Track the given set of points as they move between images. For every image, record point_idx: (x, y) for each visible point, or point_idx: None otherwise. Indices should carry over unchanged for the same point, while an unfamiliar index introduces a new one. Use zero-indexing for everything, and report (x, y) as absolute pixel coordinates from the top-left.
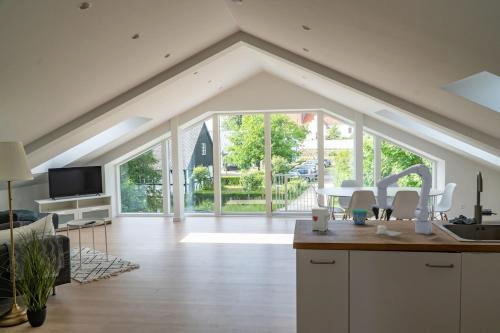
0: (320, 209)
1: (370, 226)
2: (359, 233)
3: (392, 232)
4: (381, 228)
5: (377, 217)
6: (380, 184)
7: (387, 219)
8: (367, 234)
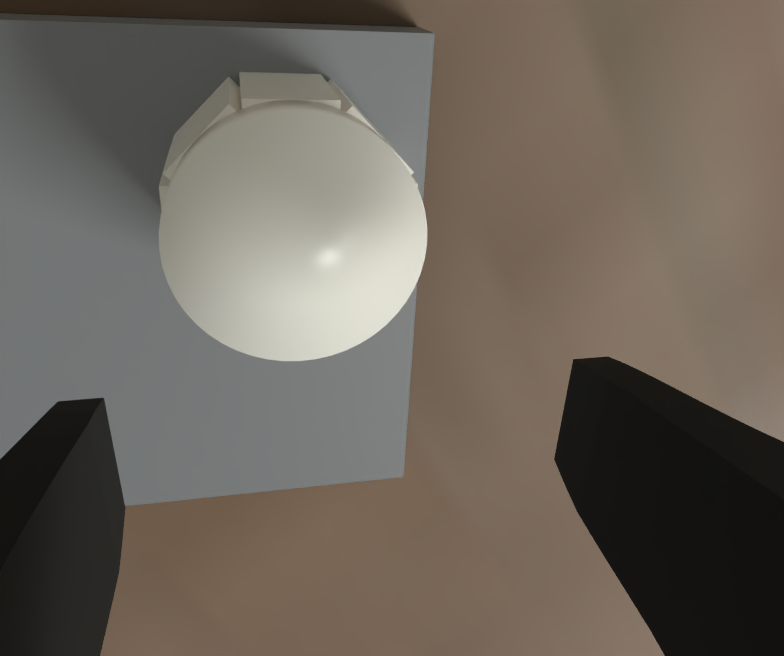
0: None
1: None
2: (780, 21)
3: (142, 396)
4: (234, 115)
5: (599, 463)
6: None
7: (31, 428)
8: (592, 39)
